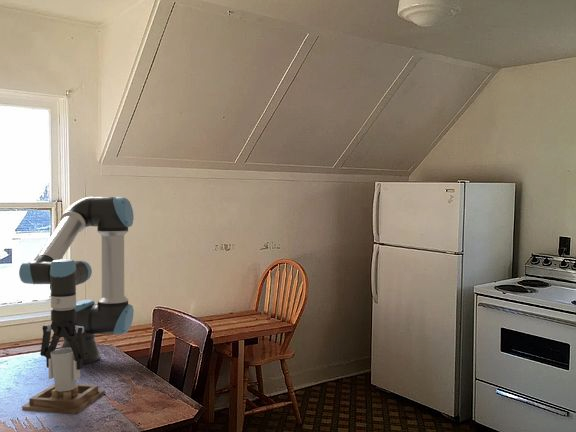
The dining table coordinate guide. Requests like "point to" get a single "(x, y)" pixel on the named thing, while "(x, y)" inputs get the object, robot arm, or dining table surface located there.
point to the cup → (63, 369)
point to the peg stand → (64, 399)
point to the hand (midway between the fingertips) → (64, 378)
